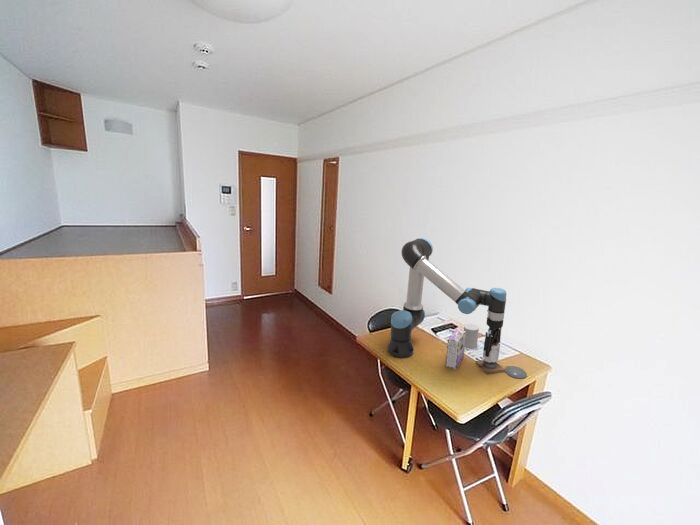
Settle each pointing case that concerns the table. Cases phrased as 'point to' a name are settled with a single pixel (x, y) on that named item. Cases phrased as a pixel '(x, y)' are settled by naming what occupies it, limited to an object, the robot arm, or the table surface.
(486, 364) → the post stand
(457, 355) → the candy box
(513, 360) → the table surface
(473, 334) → the cup
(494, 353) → the grey cylinder
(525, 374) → the coaster
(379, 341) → the table surface
